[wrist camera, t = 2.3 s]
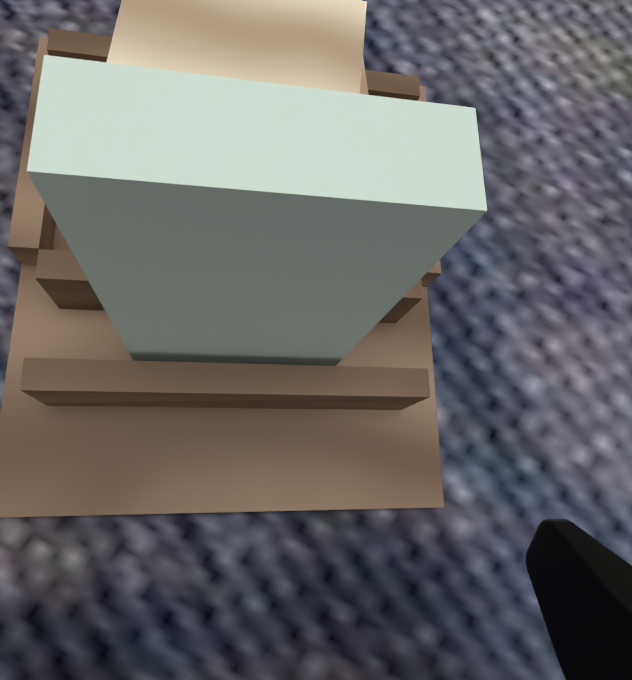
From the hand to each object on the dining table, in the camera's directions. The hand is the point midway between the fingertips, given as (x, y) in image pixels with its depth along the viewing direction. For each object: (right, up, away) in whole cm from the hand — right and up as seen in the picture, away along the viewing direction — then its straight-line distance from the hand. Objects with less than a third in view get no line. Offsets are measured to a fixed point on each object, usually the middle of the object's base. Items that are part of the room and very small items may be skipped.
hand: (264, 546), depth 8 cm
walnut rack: (-3, +5, +14) cm, 15 cm away
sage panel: (-2, +3, +13) cm, 13 cm away
